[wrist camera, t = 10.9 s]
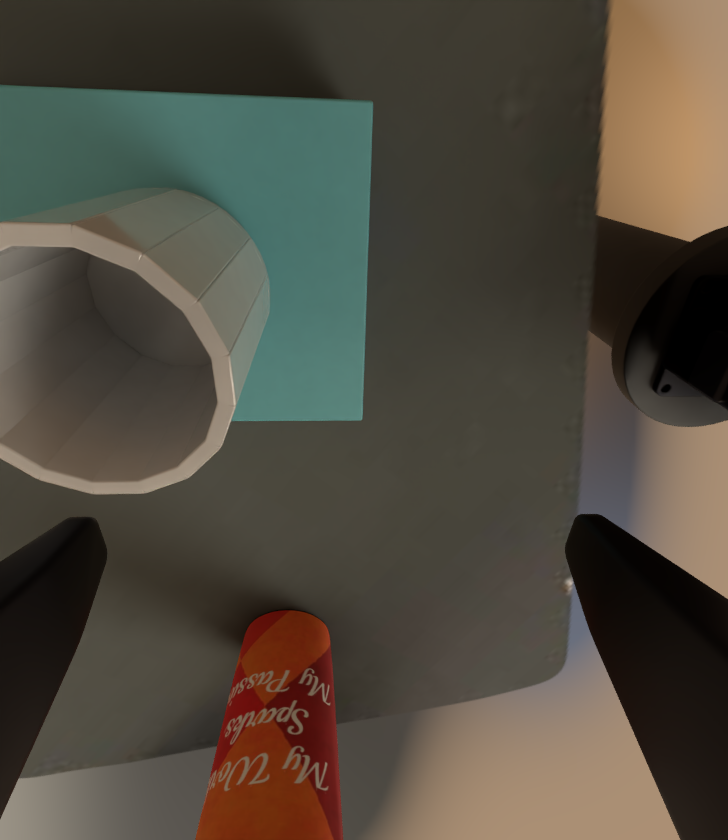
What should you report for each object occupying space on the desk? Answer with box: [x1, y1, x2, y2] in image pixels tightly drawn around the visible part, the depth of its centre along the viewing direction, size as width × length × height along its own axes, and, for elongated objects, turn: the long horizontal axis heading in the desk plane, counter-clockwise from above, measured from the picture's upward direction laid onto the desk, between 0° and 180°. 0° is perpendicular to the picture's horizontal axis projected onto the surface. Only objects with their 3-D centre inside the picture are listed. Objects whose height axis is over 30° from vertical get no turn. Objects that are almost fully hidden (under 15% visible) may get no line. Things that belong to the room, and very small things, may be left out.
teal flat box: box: [0, 85, 373, 421], centre depth 17 cm, size 13×11×3 cm
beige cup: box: [0, 187, 270, 494], centre depth 12 cm, size 6×6×7 cm
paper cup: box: [195, 610, 343, 840], centre depth 25 cm, size 8×8×14 cm
